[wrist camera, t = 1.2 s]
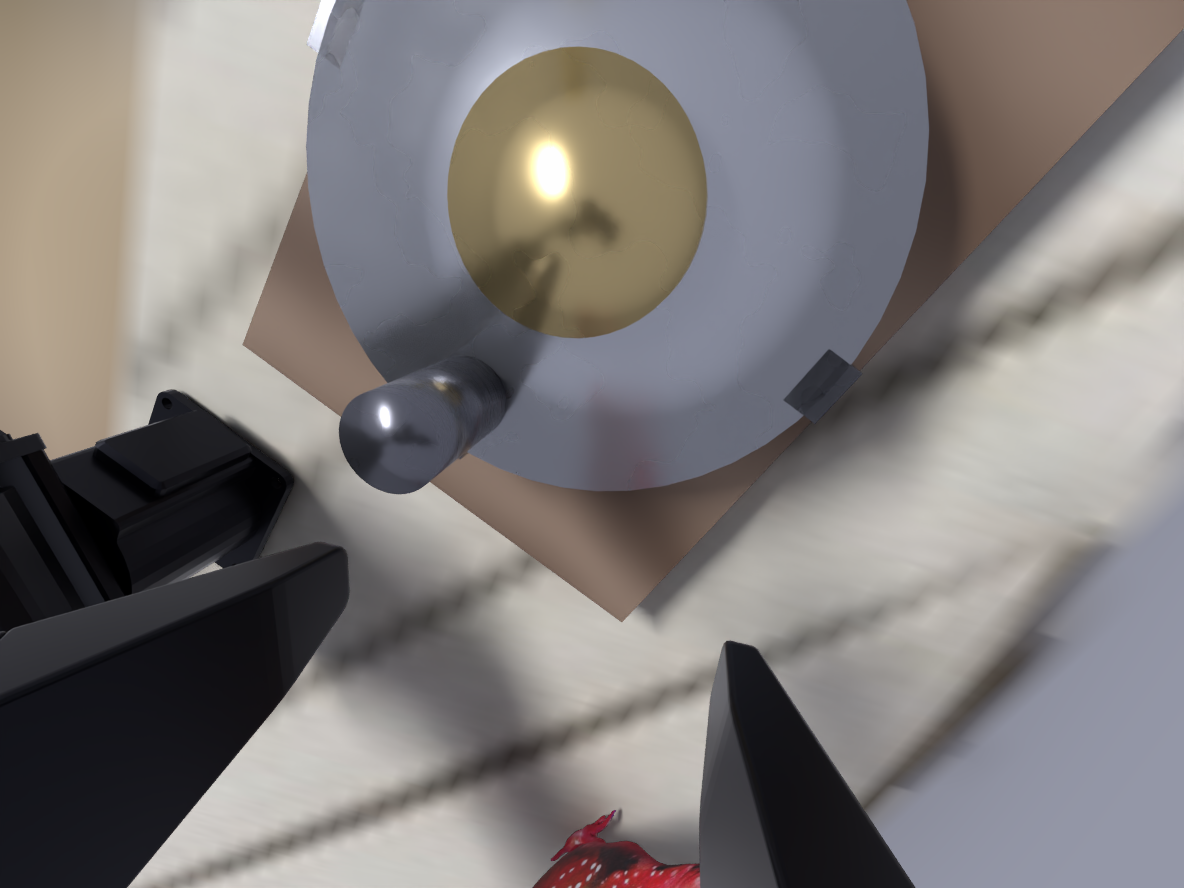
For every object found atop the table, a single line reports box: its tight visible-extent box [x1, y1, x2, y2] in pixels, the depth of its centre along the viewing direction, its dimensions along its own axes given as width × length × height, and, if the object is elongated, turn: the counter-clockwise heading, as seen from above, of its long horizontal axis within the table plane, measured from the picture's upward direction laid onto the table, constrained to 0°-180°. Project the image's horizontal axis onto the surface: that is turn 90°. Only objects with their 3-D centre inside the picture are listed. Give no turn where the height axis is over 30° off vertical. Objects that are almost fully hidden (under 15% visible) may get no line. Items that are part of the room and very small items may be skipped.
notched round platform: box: [306, 0, 929, 494], centre depth 13 cm, size 16×16×6 cm
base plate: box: [243, 0, 1184, 622], centre depth 17 cm, size 22×17×2 cm
